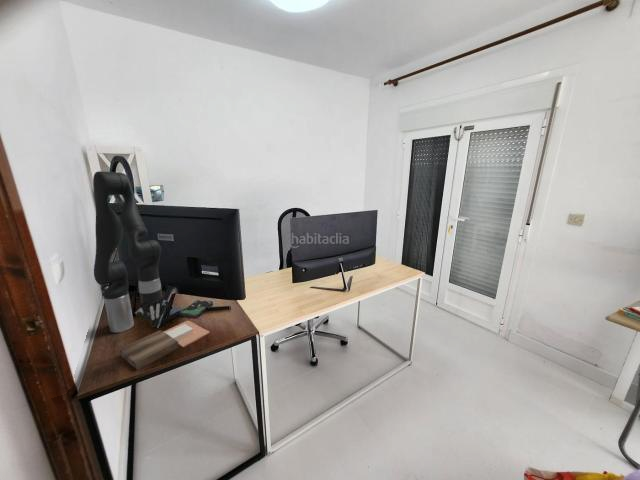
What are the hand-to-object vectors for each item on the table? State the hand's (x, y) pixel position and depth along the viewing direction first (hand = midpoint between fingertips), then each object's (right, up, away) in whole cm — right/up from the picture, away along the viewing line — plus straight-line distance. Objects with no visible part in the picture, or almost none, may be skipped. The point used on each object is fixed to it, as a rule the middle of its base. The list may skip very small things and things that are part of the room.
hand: (155, 325), depth 108 cm
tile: (+5, -8, +10) cm, 13 cm away
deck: (-2, -11, -1) cm, 11 cm away
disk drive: (+2, -3, +33) cm, 33 cm away
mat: (+7, -8, +12) cm, 16 cm away
